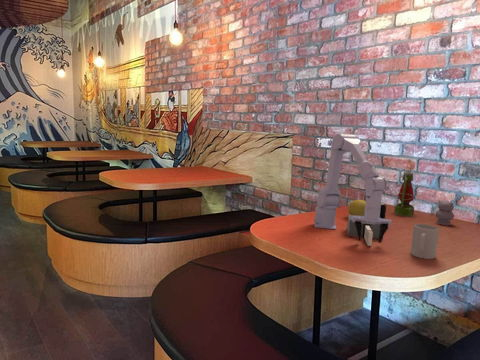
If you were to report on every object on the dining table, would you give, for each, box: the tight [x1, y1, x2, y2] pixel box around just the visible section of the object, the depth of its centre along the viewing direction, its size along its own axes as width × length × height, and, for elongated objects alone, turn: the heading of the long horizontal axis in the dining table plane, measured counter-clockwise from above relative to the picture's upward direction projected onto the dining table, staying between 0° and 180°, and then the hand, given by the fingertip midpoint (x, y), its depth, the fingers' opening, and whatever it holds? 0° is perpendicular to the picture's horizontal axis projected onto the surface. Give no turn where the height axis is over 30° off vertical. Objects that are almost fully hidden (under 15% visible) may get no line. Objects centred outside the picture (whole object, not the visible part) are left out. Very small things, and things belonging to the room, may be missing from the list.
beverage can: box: [380, 201, 387, 219], centre depth 183 cm, size 7×7×12 cm
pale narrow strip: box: [363, 225, 373, 247], centre depth 159 cm, size 2×12×6 cm, turn 169°
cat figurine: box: [435, 199, 455, 226], centre depth 200 cm, size 8×8×12 cm
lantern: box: [393, 159, 415, 217], centre depth 217 cm, size 14×11×30 cm
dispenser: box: [346, 214, 384, 240], centre depth 171 cm, size 14×11×7 cm
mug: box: [410, 223, 440, 260], centre depth 144 cm, size 12×8×11 cm
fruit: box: [347, 199, 366, 216], centre depth 201 cm, size 10×11×10 cm
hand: (369, 241), depth 155 cm, fingers open, 7 cm apart
